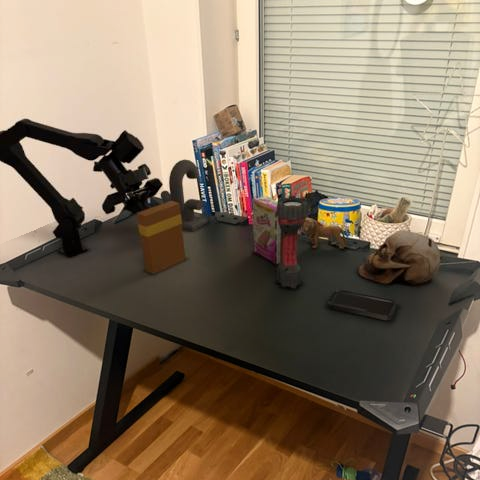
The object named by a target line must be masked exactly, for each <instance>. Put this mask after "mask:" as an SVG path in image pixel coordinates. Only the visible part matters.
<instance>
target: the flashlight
mask: <svg viewBox="0 0 480 480" xmlns="http://www.w3.org/2000/svg"><path fill="white" fill-rule="evenodd" d="M277 201H278V202H277V216H278V224H279V227H280V229H281V236H280V264H278V265H277V266H276V267H277V268H276V269H277V277H276V278H277V279H276V280H277V283H278V284H280V286H281V287H282V288H284V289H285V288H291V290H293V289H297V286H300V285H301V279H302V278H301V277H302V276H301V275H302V268H301V267H300V265H299V264H298V262H297V244H298V241H297V240H298V233H299V230H301V227H302V225H303V224H304V222H305V219H306V218H308V214H309V204H308V199H307V198H305V197H304V196H303V197H301V198H300V197H296V195H293V194H292V195H288V197H284V198H283V197H279V198H278V199H277Z"/></svg>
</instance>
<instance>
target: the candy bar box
mask: <svg viewBox="0 0 480 480" xmlns="http://www.w3.org/2000/svg"><path fill="white" fill-rule="evenodd" d="M251 202H252V203H251V204H252V205H251V207H252V208H251V209H252V234H253V235H252V240H253V242H252V243H253V253H255V254H257V255H259V256H260V257H262V258H264V259H266V260H267V261H269V262H271V263H273V264H275V265H279V264H280V236H281V229H280V227H279V224H278V216H277V202H278V200H275V198H272V197H269V196H267V195H263V196H259V197H255V198H252V199H251Z"/></svg>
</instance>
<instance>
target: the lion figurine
mask: <svg viewBox="0 0 480 480" xmlns="http://www.w3.org/2000/svg"><path fill="white" fill-rule="evenodd" d="M300 231H301V232H302V233H303V234H305V235H306V237H307V238H311V239H312V241H311V242H310V245H312V248H313V249H316V248H318V244H319V243H318V241H319V239H320V238H322V239H323V238H324V239H326V238H330V237H331V236H332V237H333V239H334V241H332V242H331V243H330V245H336V244H337V243H338V244H340V245H339V250H344V249H345V245H347V246H349V245H350V243H349V242H347V241H346V235H345V232H344V229H343V228H342V227H341V226H339V225H337V224H332V225H324V224H322V222H320V221H318V220H315V218H311V217H306V219H305V222H304V224H303V225H302V227H301V228H300ZM341 235H342V237H341Z"/></svg>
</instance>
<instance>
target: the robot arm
mask: <svg viewBox="0 0 480 480" xmlns="http://www.w3.org/2000/svg"><path fill="white" fill-rule="evenodd" d="M25 138H29V139H31V140H36V141H38V142H42V143H46V144H49V145H52V146H57V147H59V148H63V149H66V150H69V151H70V152H72V153H73V154H75V155H76V156H78V157H79V158H82V159H84V160H86V161H90V162H92V161H94V162H93V167H92V171H93V172H95V173H97V172H98V173H102V172H103V174H104V176H106V178H107V180H108V181H109V182H110V185H109V187H110V188H111V189H112V190H113V189H115V190H116V191H115V192H113V193H110V194H107V195H106V197H105V198H104V201H103V202H102V204H101V208H102V211H103V212H104V213H105V215H109V214H112V213H115V211H116V206H118V205H121V204H122V205H123V206H124V207H123V208H122V210H123V211H128V212H130V213H132V214H135V215H136V216H137V213H138V212H141V211H144V210H147V209H150V208H151V207H150V206H149V200H148V199H150V198H153V197H155V196H156V195H157V194H158V192H159V191H160V190H161V188H162V187H163V185H164V184H163V182H162V181H161V179H160V178H157V177H154V178H152V179H150V177H149V176H150V175H152V172H151V169H150V167H149V166H148V165H147V164H146V163H142V164H140V165H139V166H137V169H134V170H132V169H128V168H126V167H125V165H124V164H131V163H132V162H133V161H134V160H135V159H136V158H137V157H138V156H139V155H140V154H141V153H142V152H143V151H144V150H145V147H144V145H143V142H142V141H141V140H140V139H139V138H138V137H137V136H135V135H133V134H132V133H130V132H128V131H127V130H126V129H124V130H123V131H122V132H121V133H120V134H119V136H118V138H117V139H116V140H110V139H106V138H103V137H102V136H101V135H100V134H98V133H97V134H96V133H89V132H72V131H68V130H65V129H61V128H57V127H54V126H51V125H47V124H44V123H41V122H36V121H33V120H32V119H30V118H21V119H20V120H18V121H16V122H15V123H14V124H13V125H12V126H10V127H8V128H7V129H6V130H5V129H3V130H0V163H3V164H5V165H7V166H9V167H10V168H12V169H13V170H14V171H15V172H16V173H17V174H18V175H19V176H20V177H21V178H22V179H23V180H24V181H25V182H26V183H27V184H28V186H29V187H30V188H31V189H32V190H33V191H34V192H35V193H36V194H37V195H38V196H39V197H40V199H42V201H43V202H45V204H46V205H47V206H48V207H49V208H50V210H51V213H52V215H53V218H54V220H55V222H56V223H57V226H56V227H55V228H54V229H53V231H52V234H53V236H54V237H55V239H59V240H60V243H61V247H62V248H61V249H58V252H59V253H60V254H62V255H64V256H66V257H68V258H72V257H74V256H76V255H79V254H82V253H85V252H88V250H89V249H88V248H87V247H85V246H83V244H82V240H81V235H80V231H79V229H80V228H81V227H82V224H83V223H84V222H85V220H86V214H85V211H84V210H83V209H84V207H83V206H81V205H80V204H79V203H78V201H77V200H76V199H75V198H74V197H71V198H70V199H68V198H66V197H64V196H63V195H62V194H61V193H60V192H59V190H57V189H56V188H55V186H54V185H53V184H52V183H51V182H50V181H49V180H48V179H47V177H45V175H44V174H43V173H42V172H41V171H40V170H39V168H37V167H36V166H35V164H34V163H33V162H32V161H31V160H30V159H29V158H28V157H27V155H26V152H25V150H24V147H23V145H22V144H21V141H22V140H24V139H25ZM99 158H100V159H99ZM97 159H99V160H98V161H96V160H97ZM145 180H147V181H146V182H145V184H143V183H144V182H143V181H145ZM142 185H143V186H142ZM141 186H142V187H141Z"/></svg>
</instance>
